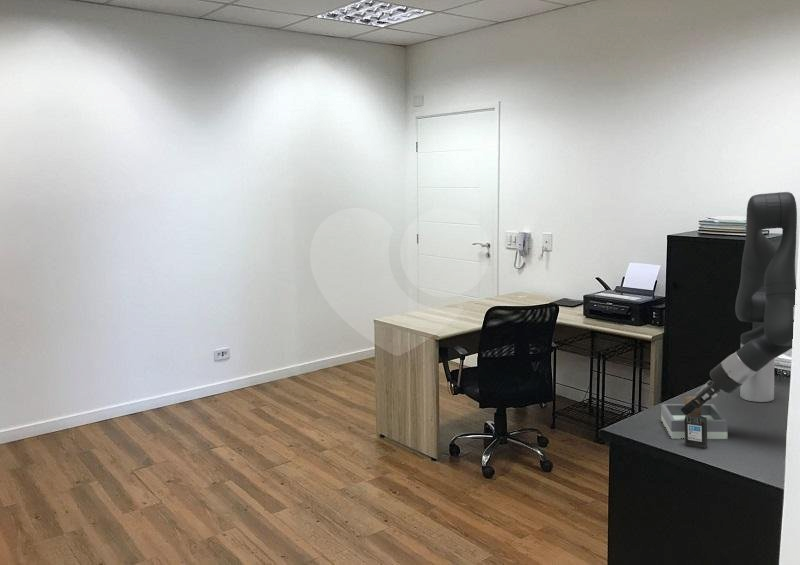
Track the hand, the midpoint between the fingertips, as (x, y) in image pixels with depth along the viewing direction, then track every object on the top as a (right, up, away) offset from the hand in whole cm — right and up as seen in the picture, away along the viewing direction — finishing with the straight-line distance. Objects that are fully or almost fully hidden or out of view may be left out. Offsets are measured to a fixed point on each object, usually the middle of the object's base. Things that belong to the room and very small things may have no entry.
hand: (685, 409), depth 186 cm
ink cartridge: (-2, -8, -12) cm, 14 cm away
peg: (+2, -5, -1) cm, 5 cm away
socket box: (+2, -6, 0) cm, 6 cm away
